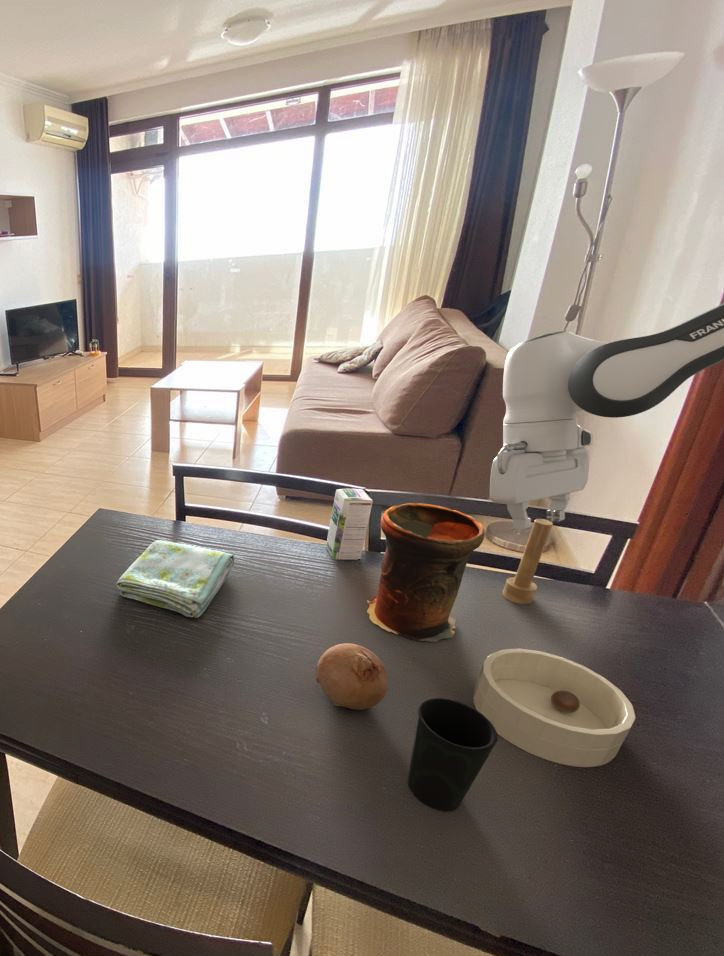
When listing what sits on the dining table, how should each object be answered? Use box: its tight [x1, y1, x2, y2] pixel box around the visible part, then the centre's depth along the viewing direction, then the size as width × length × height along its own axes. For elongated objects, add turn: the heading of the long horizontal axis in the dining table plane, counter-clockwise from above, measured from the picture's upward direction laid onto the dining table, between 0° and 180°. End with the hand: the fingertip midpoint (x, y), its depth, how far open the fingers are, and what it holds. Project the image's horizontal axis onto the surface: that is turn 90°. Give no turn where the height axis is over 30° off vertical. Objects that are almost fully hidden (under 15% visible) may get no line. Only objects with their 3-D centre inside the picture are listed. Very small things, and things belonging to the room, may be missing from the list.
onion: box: [315, 642, 389, 711], centre depth 80 cm, size 10×9×10 cm
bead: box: [551, 690, 580, 713], centre depth 76 cm, size 3×3×3 cm
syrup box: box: [325, 488, 374, 561], centre depth 115 cm, size 6×6×14 cm
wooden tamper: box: [501, 518, 554, 605], centre depth 97 cm, size 4×4×16 cm
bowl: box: [472, 648, 637, 768], centre depth 75 cm, size 16×16×6 cm
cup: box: [407, 697, 498, 812], centre depth 65 cm, size 8×8×12 cm
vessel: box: [366, 502, 486, 643], centre depth 93 cm, size 14×14×20 cm
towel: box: [115, 539, 235, 619], centre depth 111 cm, size 18×21×5 cm
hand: (539, 525), depth 87 cm, fingers open, 8 cm apart
